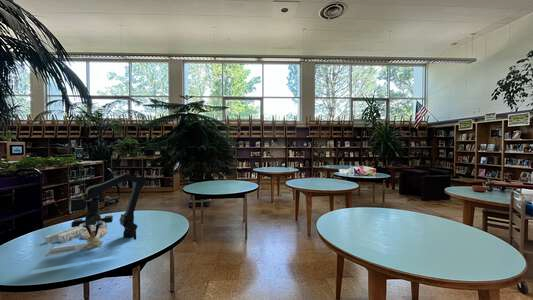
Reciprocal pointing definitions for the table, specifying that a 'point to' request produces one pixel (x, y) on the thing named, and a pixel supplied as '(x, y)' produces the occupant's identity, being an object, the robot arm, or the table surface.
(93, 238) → the cabinet block
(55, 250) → the wall board
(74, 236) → the sign
